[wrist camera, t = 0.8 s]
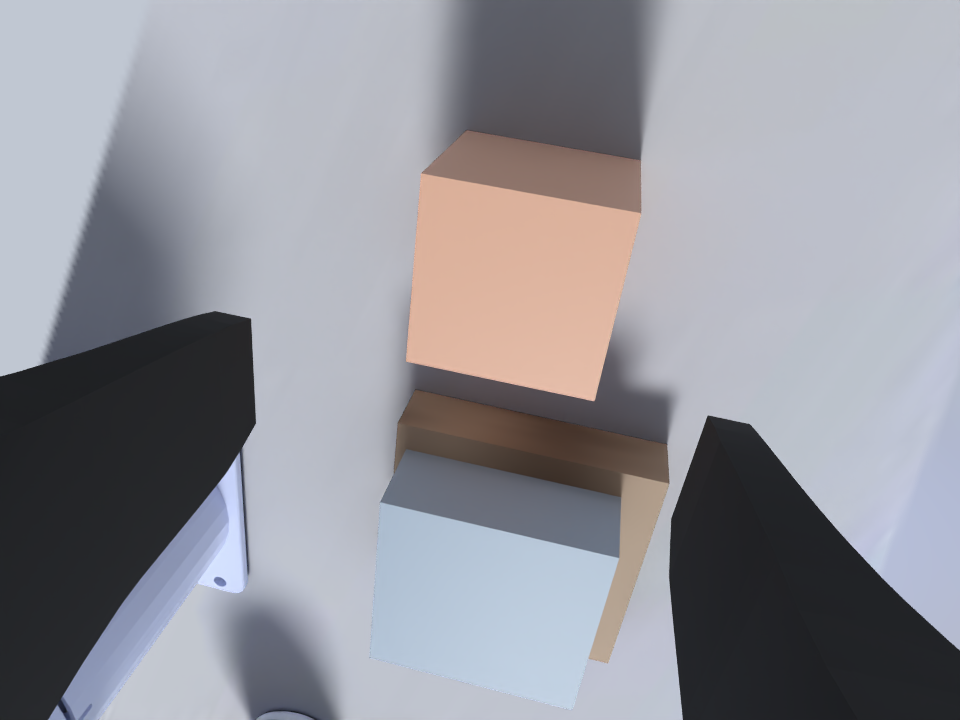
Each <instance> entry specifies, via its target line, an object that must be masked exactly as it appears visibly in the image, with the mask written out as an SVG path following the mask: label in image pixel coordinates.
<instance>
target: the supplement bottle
mask: <svg viewBox="0 0 960 720" xmlns="http://www.w3.org/2000/svg"><path fill="white" fill-rule="evenodd" d="M256 720H314V719H312V718H310V717H308V716H305V715H302V714H298V713H294V712H285V711H275V712H269V713H265V714H263V715H261V716H260V717H258V718H257V719H256Z"/></svg>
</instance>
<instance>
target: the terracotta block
mask: <svg viewBox="0 0 960 720" xmlns="http://www.w3.org/2000/svg"><path fill="white" fill-rule="evenodd" d="M640 216H641V160H636V159H630V158H624V157H619V156H613V155H607V154H601V153H596V152H590V151H584V150H578V149H572V148H567V147H561V146H555V145H549V144H544V143H538V142H532V141H526V140H520V139H515V138H509V137H503V136H497V135H492V134H486V133H480V132H474V131H469V130H466V131H465V132H464V133H463V134H462V135H461V136H460V137H459V138H458V139H457V140H456V141H455V142H454V143H453V144H452V145H451V146H450V147H448V148H447V149H446V150H445V151H444V152H443V153H442V154H441V155H440V156H439V157H438V158H437V159H436V160H435V161H434V162H433V163H432V164H431V165H430V166H429V167H427V168H426V169H425V170H424V171H423V172H422V173H421V181H420V194H419V206H418V219H417V231H416V243H415V256H414V268H413V280H412V293H411V305H410V318H409V330H408V342H407V355H406V362H410V363H415V364H420V365H425V366H429V367H434V368H439V369H444V370H448V371H453V372H458V373H463V374H467V375H472V376H477V377H482V378H486V379H491V380H496V381H501V382H505V383H510V384H515V385H520V386H524V387H529V388H534V389H538V390H543V391H548V392H553V393H557V394H562V395H567V396H572V397H576V398H581V399H586V400H591V401H595V397H596V393H597V389H598V385H599V381H600V377H601V373H602V369H603V365H604V361H605V357H606V353H607V349H608V345H609V341H610V337H611V333H612V329H613V325H614V321H615V317H616V313H617V309H618V305H619V301H620V297H621V293H622V289H623V285H624V281H625V277H626V273H627V269H628V265H629V261H630V257H631V253H632V249H633V245H634V241H635V237H636V233H637V228H638V224H639V220H640Z"/></svg>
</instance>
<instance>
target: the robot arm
mask: <svg viewBox="0 0 960 720" xmlns="http://www.w3.org/2000/svg"><path fill="white" fill-rule="evenodd" d="M255 424H256V415H255V394H254V373H253V352H252V330H251V319H249V318H245V317H240V316H235V315H231V314H226V313H221V312H216V311H214V312H210V313H205V314H201V315H197V316H193V317H190V318H187V319H183V320H180V321H177V322H174V323H171V324H167V325H164V326H161V327H158V328H155V329H152V330H149V331H146V332H143V333H140V334H137V335H134V336H131V337H128V338H125V339H122V340H119V341H116V342H113V343H110V344H107V345H104V346H101V347H98V348H95V349H92V350H89V351H86V352H83V353H79V354H76V355H73V356H69V357H66V358H63V359H59V360H56V361H53V362H49V363H46V364H43V365H39V366H36V367H33V368H29V369H26V370H23V371H20V372H16V373H12V374H8V375H5V376H0V720H99V719H100V717H101V716H102V714H103V713H104V712H105V710H106V709H107V707H108V706H109V705H110V703H111V702H112V701H113V699H114V698H115V696H116V695H117V694H118V692H119V691H120V689H121V688H122V687H123V685H124V684H125V682H126V681H127V680H128V678H129V677H130V676H131V674H132V673H133V671H134V670H135V669H136V667H137V666H138V664H139V663H140V662H141V660H142V659H143V657H144V656H145V655H146V653H147V652H148V651H149V649H150V648H151V646H152V645H153V644H154V642H155V641H156V639H157V638H158V637H159V635H160V634H161V633H162V631H163V630H164V628H165V627H166V626H167V624H168V623H169V621H170V620H171V619H172V617H173V616H174V614H175V613H176V612H177V610H178V609H179V608H180V606H181V605H182V603H183V602H184V601H185V599H186V598H187V596H188V595H189V594H190V592H191V591H192V589H193V588H194V587H195V585H196V584H201V585H205V586H209V587H213V588H217V589H221V590H225V591H228V592H232V593H239V592H242V591H243V590H244V588H245V587H246V585H247V583H248V575H247V560H246V544H245V528H244V512H243V496H242V480H241V464H240V451H241V449H242V447H243V445H244V443H245V442H246V440H247V438H248V436H249V435H250V433H251V431H252V429H253V428H254V426H255ZM669 581H670V592H671V603H672V614H673V625H674V635H675V645H676V655H677V665H678V675H679V685H680V695H681V705H682V715H683V720H960V650H959V649H957V648H956V647H955V646H954V645H953V644H952V643H950V642H949V641H948V640H947V639H946V638H945V637H944V636H943V635H942V634H940V633H939V632H938V631H937V630H936V629H935V628H934V627H933V626H932V625H931V624H930V623H929V622H927V621H926V620H925V619H924V618H923V617H922V616H921V615H920V614H919V613H918V612H917V611H915V609H913V608H912V607H911V606H910V605H909V604H908V603H907V602H906V601H905V600H904V599H903V598H902V597H901V596H899V594H898V593H896V592H895V590H894V589H893V588H892V587H890V586H889V585H888V584H887V583H886V582H885V581H884V580H883V579H882V578H881V576H880V575H879V574H878V573H877V572H876V571H875V570H874V569H873V568H872V567H871V566H870V565H869V564H868V563H867V562H866V561H865V560H864V558H863V557H862V556H861V555H860V554H859V553H858V552H857V551H856V550H855V549H854V548H853V547H852V546H851V545H850V544H849V543H848V541H847V540H846V539H845V538H844V537H843V536H842V535H841V534H840V532H839V531H838V530H837V529H836V528H835V527H834V526H833V525H832V523H831V522H830V521H829V520H828V519H827V518H826V516H825V515H824V514H823V513H822V512H821V511H820V509H819V508H818V507H817V506H816V505H815V503H814V502H813V501H812V500H811V499H810V497H809V496H808V495H807V494H806V493H805V491H804V490H803V489H802V488H801V486H800V485H799V484H798V483H797V482H796V480H795V479H794V478H793V477H792V475H791V474H790V473H789V471H788V470H787V469H786V468H785V466H784V465H783V464H782V463H781V461H780V460H779V459H778V458H777V456H776V455H775V454H774V453H773V451H772V450H771V449H770V448H769V446H768V445H767V444H766V443H765V441H764V440H763V439H762V438H761V436H760V435H759V434H758V433H757V432H756V431H755V429H754V428H753V427H752V426H751V425H750V424H746V423H741V422H736V421H732V420H727V419H722V418H718V417H713V416H708V417H707V419H706V422H705V425H704V428H703V431H702V434H701V436H700V439H699V442H698V445H697V448H696V451H695V453H694V456H693V459H692V462H691V465H690V468H689V470H688V473H687V476H686V479H685V482H684V484H683V487H682V490H681V493H680V496H679V499H678V501H677V504H676V507H675V510H674V513H673V516H672V518H671V539H670V568H669Z"/></svg>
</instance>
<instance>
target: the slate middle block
mask: <svg viewBox="0 0 960 720" xmlns="http://www.w3.org/2000/svg"><path fill="white" fill-rule="evenodd" d="M620 520H621V497H618V496H613V495H609V494H604V493H600V492H595V491H591V490H586V489H582V488H577V487H573V486H569V485H564V484H560V483H555V482H551V481H546V480H542V479H537V478H533V477H528V476H524V475H519V474H515V473H511V472H506V471H502V470H497V469H493V468H488V467H484V466H479V465H475V464H470V463H466V462H462V461H457V460H453V459H448V458H444V457H439V456H435V455H430V454H426V453H421V452H417V451H412V450H408V449H406V451H405V453H404V455H403V457H402V459H401V461H400V463H399V465H398V467H397V469H396V471H395V473H394V475H393V477H392V479H391V481H390V483H389V485H388V487H387V489H386V491H385V494H384V496H383V498H382V500H381V502H380V512H379V527H378V541H377V556H376V571H375V585H374V600H373V615H372V629H371V644H370V658H372V659H376V660H380V661H384V662H387V663H391V664H395V665H399V666H403V667H407V668H411V669H414V670H418V671H422V672H426V673H430V674H434V675H438V676H441V677H445V678H449V679H453V680H457V681H461V682H465V683H468V684H472V685H476V686H480V687H484V688H488V689H492V690H495V691H499V692H503V693H507V694H511V695H515V696H519V697H522V698H526V699H530V700H534V701H538V702H542V703H546V704H549V705H553V706H557V707H561V708H565V709H569V710H573V707H574V703H575V700H576V697H577V694H578V690H579V687H580V684H581V681H582V677H583V674H584V671H585V668H586V664H587V661H588V658H589V655H590V652H591V648H592V645H593V642H594V639H595V635H596V632H597V629H598V626H599V622H600V619H601V616H602V613H603V609H604V606H605V603H606V600H607V596H608V593H609V590H610V587H611V583H612V580H613V577H614V574H615V571H616V567H617V564H618V561H619V552H620Z"/></svg>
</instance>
